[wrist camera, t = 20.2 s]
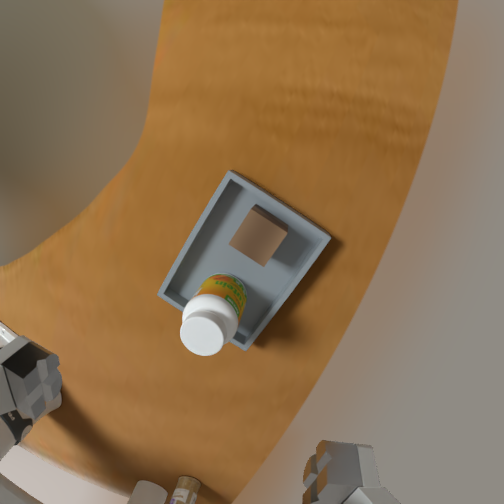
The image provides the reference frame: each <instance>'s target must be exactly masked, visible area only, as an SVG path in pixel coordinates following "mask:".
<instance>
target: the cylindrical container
mask: <svg viewBox="0 0 504 504" xmlns="http://www.w3.org/2000/svg"><path fill="white" fill-rule="evenodd" d="M167 495H168V493H167V491H166V490H165V489H164V488H162V487H161V486H159V485H157V484H155V483H152V482H149V481H144V480H141V481H138V482H137V484H136V486H135V488H134V491H133V493H132V495H131V497H130V499H129V501H128V503H127V504H164V503H165V500H166V498H167Z"/></svg>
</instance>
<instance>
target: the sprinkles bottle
mask: <svg viewBox="0 0 504 504" xmlns="http://www.w3.org/2000/svg"><path fill="white" fill-rule="evenodd" d="M200 486H201V484H200V482H199V481H198V480H197V479H195V478H193V477H189V476H181V477H179V479H178V483H177V486H176V489H175V490H174V493H173V496H172V498H171V501H170V504H195V501H196V498H197V493H198V490H199V487H200Z"/></svg>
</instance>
